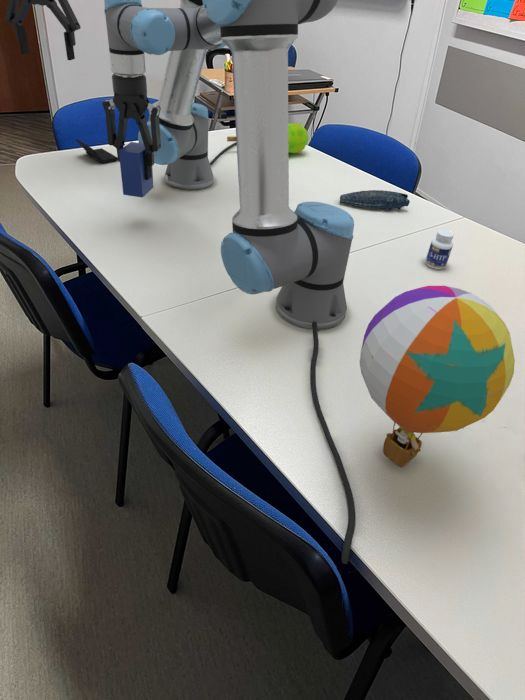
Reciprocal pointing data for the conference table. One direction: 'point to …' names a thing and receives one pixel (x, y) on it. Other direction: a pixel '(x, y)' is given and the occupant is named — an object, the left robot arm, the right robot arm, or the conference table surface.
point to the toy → (435, 364)
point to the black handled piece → (98, 153)
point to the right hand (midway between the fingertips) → (137, 176)
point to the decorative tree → (292, 137)
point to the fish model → (376, 199)
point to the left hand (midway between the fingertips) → (48, 56)
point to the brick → (134, 170)
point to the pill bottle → (440, 249)
